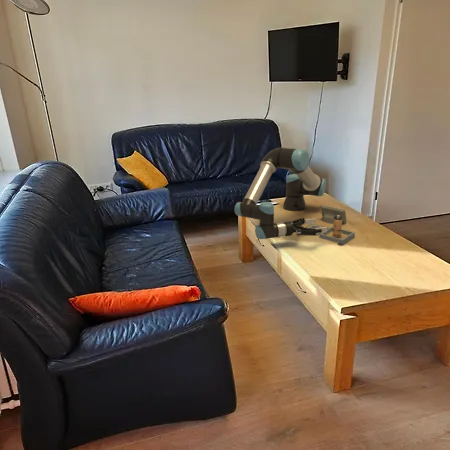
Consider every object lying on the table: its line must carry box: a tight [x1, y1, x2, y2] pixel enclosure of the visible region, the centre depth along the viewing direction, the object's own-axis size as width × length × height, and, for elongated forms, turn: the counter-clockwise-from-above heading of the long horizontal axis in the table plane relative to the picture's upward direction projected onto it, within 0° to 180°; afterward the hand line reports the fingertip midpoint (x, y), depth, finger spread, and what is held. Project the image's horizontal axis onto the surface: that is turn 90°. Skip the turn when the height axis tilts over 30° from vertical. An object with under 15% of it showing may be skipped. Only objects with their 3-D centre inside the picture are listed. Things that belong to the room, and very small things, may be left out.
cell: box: [332, 215, 343, 239], centre depth 218 cm, size 4×4×13 cm
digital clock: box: [320, 204, 348, 225], centre depth 240 cm, size 16×9×11 cm, turn 36°
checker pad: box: [304, 223, 330, 236], centre depth 231 cm, size 14×12×2 cm
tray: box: [318, 226, 356, 246], centre depth 220 cm, size 14×14×3 cm
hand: (321, 224), depth 216 cm, fingers open, 13 cm apart
